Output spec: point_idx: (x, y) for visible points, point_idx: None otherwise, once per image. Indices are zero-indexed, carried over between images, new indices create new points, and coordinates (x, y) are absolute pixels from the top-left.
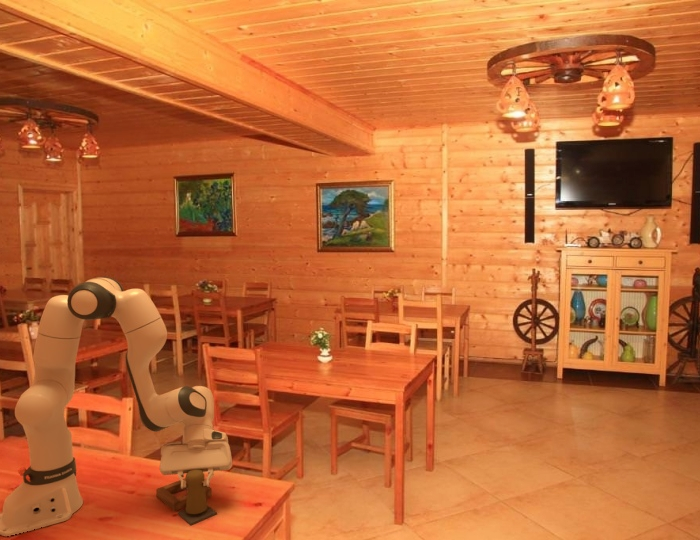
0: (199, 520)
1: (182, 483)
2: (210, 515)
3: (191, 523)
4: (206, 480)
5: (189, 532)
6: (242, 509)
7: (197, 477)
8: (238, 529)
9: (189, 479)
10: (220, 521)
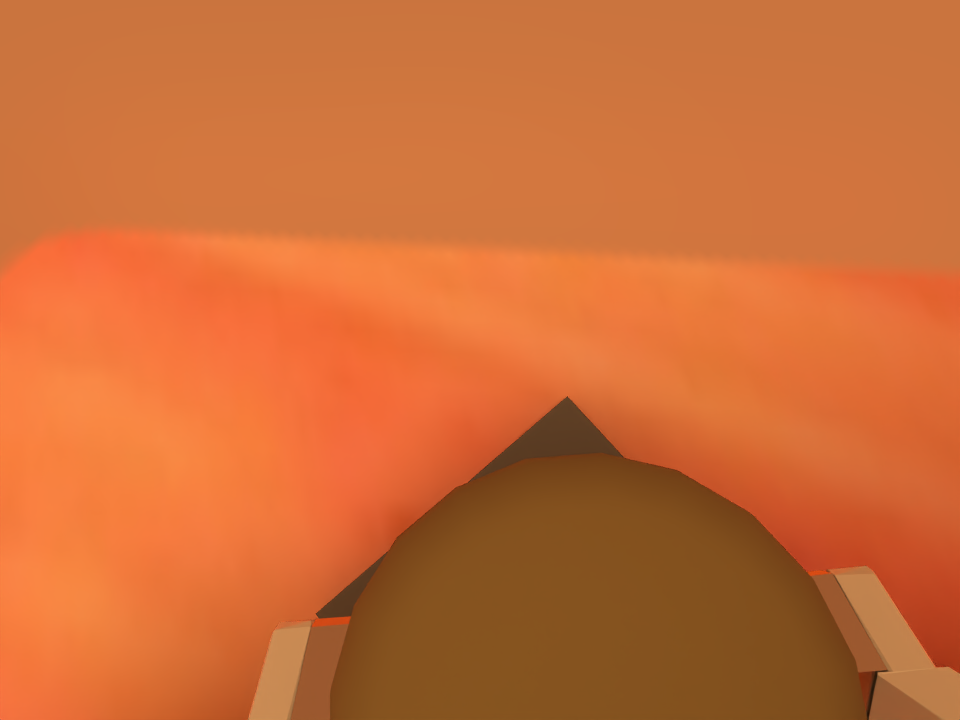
0: (489, 464)
1: (866, 614)
2: (382, 556)
3: (562, 403)
4: (304, 688)
5: (548, 283)
6: (38, 694)
7: (459, 505)
8: (81, 304)
9: (674, 472)
10: (266, 457)
